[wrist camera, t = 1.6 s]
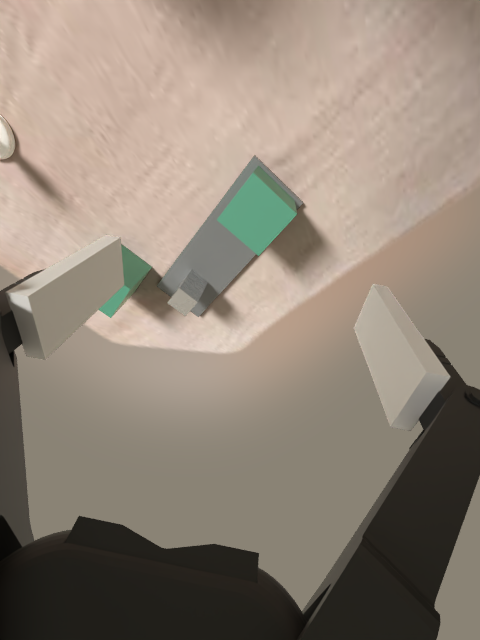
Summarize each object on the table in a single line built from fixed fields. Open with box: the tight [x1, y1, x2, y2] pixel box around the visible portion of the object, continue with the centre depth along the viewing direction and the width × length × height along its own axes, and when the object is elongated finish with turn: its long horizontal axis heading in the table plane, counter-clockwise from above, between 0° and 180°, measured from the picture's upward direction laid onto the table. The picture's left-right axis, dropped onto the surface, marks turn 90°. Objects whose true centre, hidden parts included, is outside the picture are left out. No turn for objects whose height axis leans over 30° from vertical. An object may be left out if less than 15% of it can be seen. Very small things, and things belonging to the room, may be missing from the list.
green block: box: [98, 244, 152, 318], centre depth 37 cm, size 5×5×7 cm
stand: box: [157, 155, 303, 317], centre depth 33 cm, size 7×20×7 cm, turn 140°
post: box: [168, 270, 208, 316], centre depth 36 cm, size 3×3×6 cm
